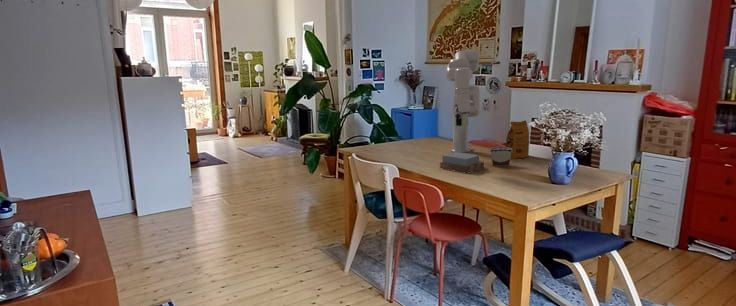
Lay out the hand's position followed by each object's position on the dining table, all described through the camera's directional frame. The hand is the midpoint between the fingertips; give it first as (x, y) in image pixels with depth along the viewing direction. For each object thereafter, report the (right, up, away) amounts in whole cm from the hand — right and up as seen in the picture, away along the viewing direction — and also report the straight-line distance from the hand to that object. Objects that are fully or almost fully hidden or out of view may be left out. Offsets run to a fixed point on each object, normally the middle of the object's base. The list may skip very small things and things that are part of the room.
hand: (461, 124), depth 259 cm
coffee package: (+39, -18, +28) cm, 51 cm away
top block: (0, -21, +4) cm, 21 cm away
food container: (+24, -22, +10) cm, 34 cm away
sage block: (0, -1, 0) cm, 1 cm away
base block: (+1, -25, +5) cm, 25 cm away
